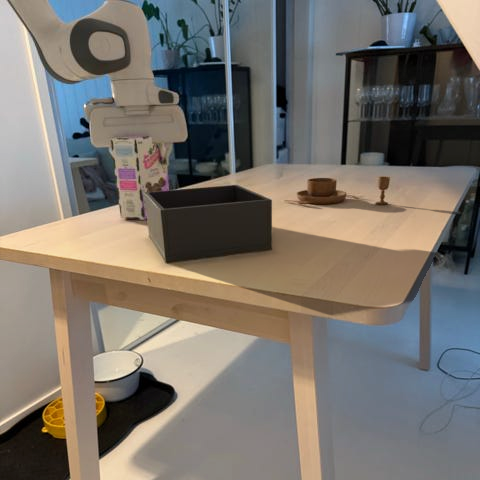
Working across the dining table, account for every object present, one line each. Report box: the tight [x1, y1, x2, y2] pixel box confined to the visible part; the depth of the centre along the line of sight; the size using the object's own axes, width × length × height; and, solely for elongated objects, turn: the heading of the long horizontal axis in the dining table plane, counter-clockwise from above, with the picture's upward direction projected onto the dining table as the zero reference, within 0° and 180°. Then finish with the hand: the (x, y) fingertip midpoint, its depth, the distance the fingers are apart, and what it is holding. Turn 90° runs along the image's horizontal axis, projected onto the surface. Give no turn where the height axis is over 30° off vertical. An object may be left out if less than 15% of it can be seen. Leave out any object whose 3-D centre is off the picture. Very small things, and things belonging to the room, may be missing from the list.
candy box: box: [111, 136, 171, 221], centre depth 100 cm, size 14×6×16 cm, turn 163°
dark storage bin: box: [144, 184, 273, 264], centre depth 78 cm, size 17×17×8 cm
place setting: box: [284, 176, 391, 206], centre depth 108 cm, size 18×20×6 cm
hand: (143, 166), depth 100 cm, fingers closed on candy box, 8 cm apart
